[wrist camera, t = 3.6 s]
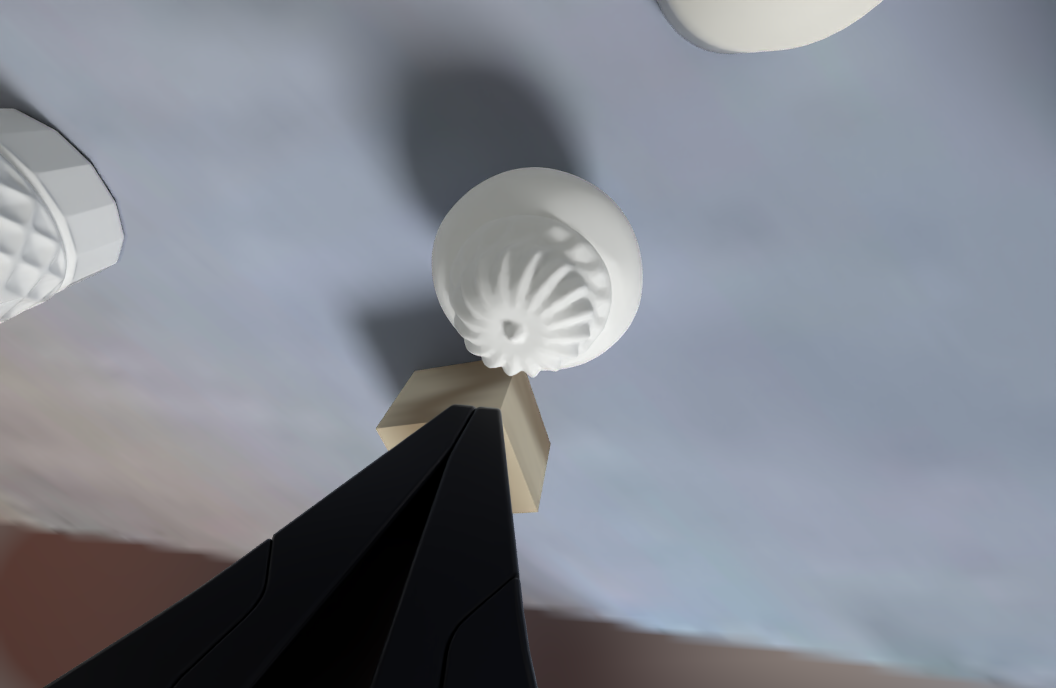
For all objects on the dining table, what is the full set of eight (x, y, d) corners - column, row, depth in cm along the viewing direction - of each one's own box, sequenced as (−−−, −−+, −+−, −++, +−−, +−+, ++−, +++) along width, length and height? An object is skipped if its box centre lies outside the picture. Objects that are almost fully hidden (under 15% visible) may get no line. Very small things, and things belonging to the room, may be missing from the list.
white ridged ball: (673, 191, 15) (708, 275, 9) (595, 339, 18) (583, 473, 12) (494, 116, 15) (408, 151, 9) (448, 280, 18) (363, 386, 12)
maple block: (520, 352, 19) (499, 413, 16) (550, 442, 22) (537, 512, 18) (415, 369, 21) (375, 428, 17) (454, 451, 23) (426, 518, 20)
